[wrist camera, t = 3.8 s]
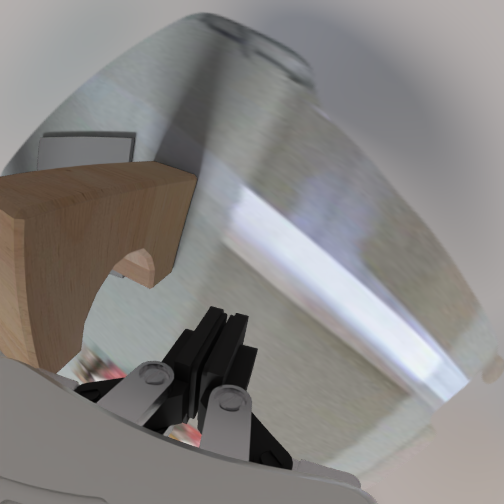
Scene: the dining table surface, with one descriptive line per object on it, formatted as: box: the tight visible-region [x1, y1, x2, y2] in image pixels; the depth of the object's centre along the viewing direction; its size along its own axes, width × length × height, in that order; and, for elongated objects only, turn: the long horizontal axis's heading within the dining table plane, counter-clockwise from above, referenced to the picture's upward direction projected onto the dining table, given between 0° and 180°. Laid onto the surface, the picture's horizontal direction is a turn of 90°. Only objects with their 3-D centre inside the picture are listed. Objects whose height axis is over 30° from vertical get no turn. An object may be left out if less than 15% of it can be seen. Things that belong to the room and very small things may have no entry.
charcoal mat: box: [37, 137, 135, 278], centre depth 30 cm, size 17×16×1 cm
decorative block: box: [0, 161, 197, 374], centre depth 19 cm, size 11×6×20 cm, turn 159°
